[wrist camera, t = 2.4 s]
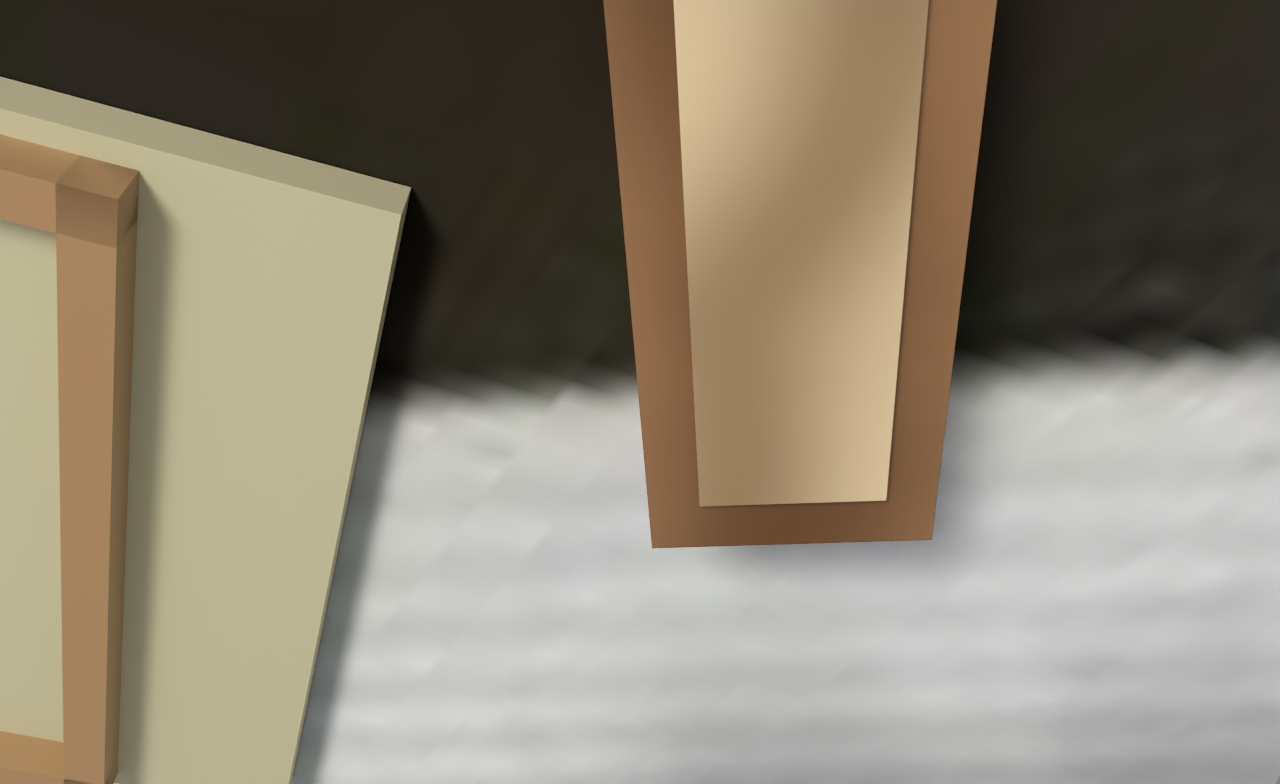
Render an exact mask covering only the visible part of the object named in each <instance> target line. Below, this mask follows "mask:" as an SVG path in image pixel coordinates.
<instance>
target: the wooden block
mask: <svg viewBox="0 0 1280 784" xmlns="http://www.w3.org/2000/svg"><path fill="white" fill-rule="evenodd" d="M603 2H604V13H605V24H606V35H607V46H608V58H609V69H610V80H611V91H612V103H613V114H614V125H615V136H616V147H617V159H618V170H619V181H620V192H621V203H622V215H623V226H624V237H625V248H626V260H627V271H628V282H629V293H630V304H631V316H632V327H633V338H634V349H635V361H636V372H637V383H638V394H639V405H640V417H641V428H642V439H643V450H644V462H645V473H646V484H647V495H648V506H649V518H650V529H651V540H652V548H675V547H708V546H741V545H774V544H807V543H840V542H873V541H906V540H932V531H933V523H934V515H935V507H936V498H937V490H938V482H939V474H940V466H941V457H942V449H943V441H944V433H945V424H946V416H947V408H948V400H949V392H950V383H951V375H952V367H953V359H954V350H955V342H956V334H957V326H958V318H959V309H960V301H961V293H962V285H963V276H964V268H965V260H966V252H967V244H968V235H969V227H970V219H971V211H972V202H973V194H974V186H975V178H976V169H977V161H978V153H979V145H980V137H981V128H982V120H983V112H984V104H985V95H986V87H987V79H988V71H989V63H990V54H991V46H992V38H993V30H994V21H995V13H996V5H997V0H603Z"/></svg>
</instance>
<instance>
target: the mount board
mask: <svg viewBox="0 0 1280 784" xmlns="http://www.w3.org/2000/svg"><path fill="white" fill-rule="evenodd" d="M410 191H411V187H407V186H403V185H400V184H396V183H392V182H389V181H385V180H381V179H378V178H374V177H370V176H366V175H363V174H359V173H355V172H352V171H348V170H344V169H340V168H337V167H333V166H329V165H326V164H322V163H318V162H315V161H311V160H307V159H303V158H300V157H296V156H292V155H289V154H285V153H281V152H278V151H274V150H270V149H266V148H263V147H259V146H255V145H252V144H248V143H244V142H241V141H237V140H233V139H229V138H226V137H222V136H218V135H215V134H211V133H207V132H203V131H200V130H196V129H192V128H189V127H185V126H181V125H178V124H174V123H170V122H166V121H163V120H159V119H155V118H152V117H148V116H144V115H141V114H137V113H133V112H129V111H126V110H122V109H118V108H115V107H111V106H107V105H104V104H100V103H96V102H92V101H89V100H85V99H81V98H78V97H74V96H70V95H66V94H63V93H59V92H55V91H52V90H48V89H44V88H41V87H37V86H33V85H29V84H26V83H22V82H18V81H15V80H11V79H7V78H4V77H0V784H113V783H119V784H291V783H292V779H293V774H294V769H295V764H296V759H297V754H298V749H299V744H300V739H301V734H302V729H303V724H304V719H305V714H306V709H307V704H308V699H309V694H310V689H311V684H312V679H313V674H314V669H315V664H316V659H317V654H318V649H319V644H320V639H321V634H322V629H323V624H324V619H325V614H326V609H327V604H328V599H329V594H330V589H331V584H332V579H333V575H334V570H335V565H336V560H337V555H338V550H339V545H340V540H341V535H342V530H343V525H344V520H345V515H346V510H347V505H348V500H349V495H350V490H351V485H352V480H353V475H354V470H355V465H356V460H357V455H358V450H359V445H360V440H361V435H362V430H363V425H364V420H365V415H366V410H367V405H368V400H369V395H370V390H371V385H372V380H373V375H374V370H375V365H376V360H377V355H378V350H379V345H380V340H381V335H382V330H383V325H384V320H385V315H386V310H387V305H388V300H389V295H390V290H391V286H392V281H393V276H394V271H395V266H396V261H397V256H398V251H399V246H400V241H401V236H402V231H403V226H404V221H405V216H406V211H407V206H408V201H409V196H410Z"/></svg>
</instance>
